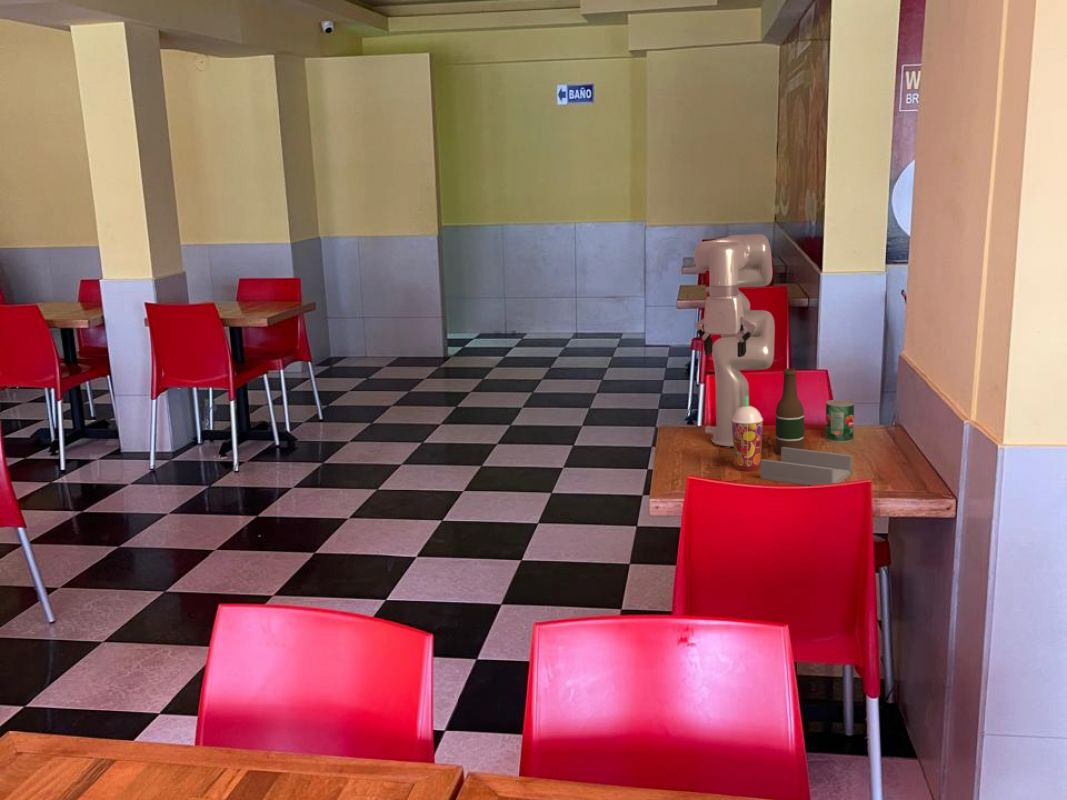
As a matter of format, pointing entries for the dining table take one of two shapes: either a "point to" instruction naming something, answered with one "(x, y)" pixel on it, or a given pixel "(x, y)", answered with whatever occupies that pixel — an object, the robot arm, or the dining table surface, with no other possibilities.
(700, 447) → the dining table surface
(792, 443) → the beer bottle
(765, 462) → the cradle
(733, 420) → the smoothie
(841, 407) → the canned tomato
